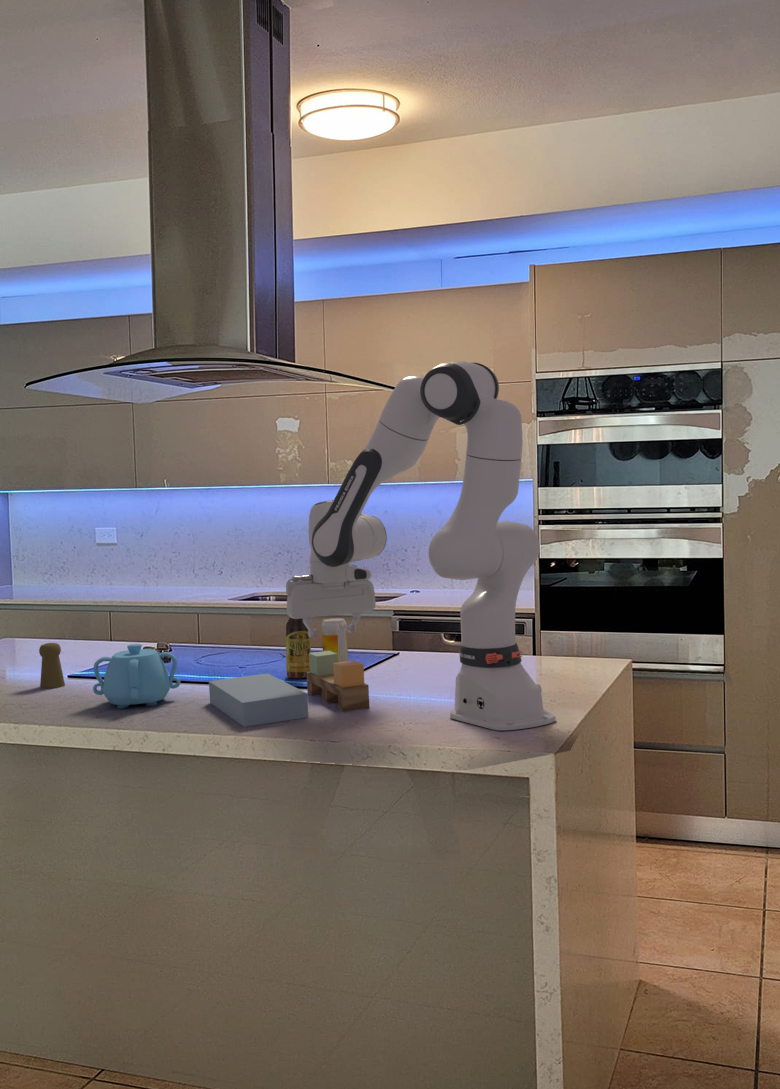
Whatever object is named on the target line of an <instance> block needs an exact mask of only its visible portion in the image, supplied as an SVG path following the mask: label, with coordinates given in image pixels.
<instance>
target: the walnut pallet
mask: <svg viewBox="0 0 780 1089" xmlns="http://www.w3.org/2000/svg"><path fill="white" fill-rule="evenodd" d="M306 674H307V678H306V689H307V690H306V691H307V692H306V693H307V695H310V696H319V695H321V697H322V698H321V700H322V702H324V703H326V704H333V703H337V707H338V710H339V711H341V712H344V713H345V712H353V711H359V710H364V709H370V690H369V688H370V687H369V684H368V683H365V682H364V685H357V686H350V687H341V686H339V685H336V684H334V674H329V675H321V676H317V675H314V674H312V673H310V672H306Z"/></svg>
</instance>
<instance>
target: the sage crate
mask: <svg viewBox="0 0 780 1089" xmlns="http://www.w3.org/2000/svg"><path fill="white" fill-rule="evenodd" d="M333 663H338V661H337V654H336V653H334V652H331V651H323V650H322V651H317V652H316V651H315V652H311V653H309V664H310V673H312V674H314V675H317V676H321V675H329V674H334V670H333Z"/></svg>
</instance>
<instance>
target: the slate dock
mask: <svg viewBox="0 0 780 1089" xmlns="http://www.w3.org/2000/svg"><path fill="white" fill-rule="evenodd" d="M208 687H209V688H208V689H209V690H208V691H209V704H211V705H212V706H213V707H215V708H217V709H218V710H219V711H221V712H222V713H224V714H225V715H226V716H228V717H229V718H230V719H232V720H233V721H235V722H236V723H238V724H239V725H240V726H242V727H243V728H246V727H252V726H258V725H264V724H271V723H272V724H273V723H278V722H285V721H291V720H292V721H293V720H297V719H305V718H309V707H308V706H309V705H308V704H309V702H308V701H309V700H308V693H307V692H305V691H303V690H301V689H300V688H297V687H296V686H294V685H291V684H289V683H287V682H285V681H283V679H280V678H278V677H276V676H274V675H272V674H270V673H260V674H255V675H254V674H253V675H245V676H240V677H239V676H238V677H231V678H224V679H215V680H208Z"/></svg>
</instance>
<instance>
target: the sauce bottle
mask: <svg viewBox="0 0 780 1089" xmlns="http://www.w3.org/2000/svg"><path fill="white" fill-rule="evenodd" d="M285 632H286V633H285V666H286V667H285V668H286V670H285V671H286V677H287V678H288V679H307V674H306V672H310V664H309V653H312V647H311V646H312V643H311V641H312V640H311V638H310V637H309V636H308V629H307V627H306V626H305V624H304V623H303V618H301V619H293V618H290V617H289V618H288V620H287V622H286V624H285Z"/></svg>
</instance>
